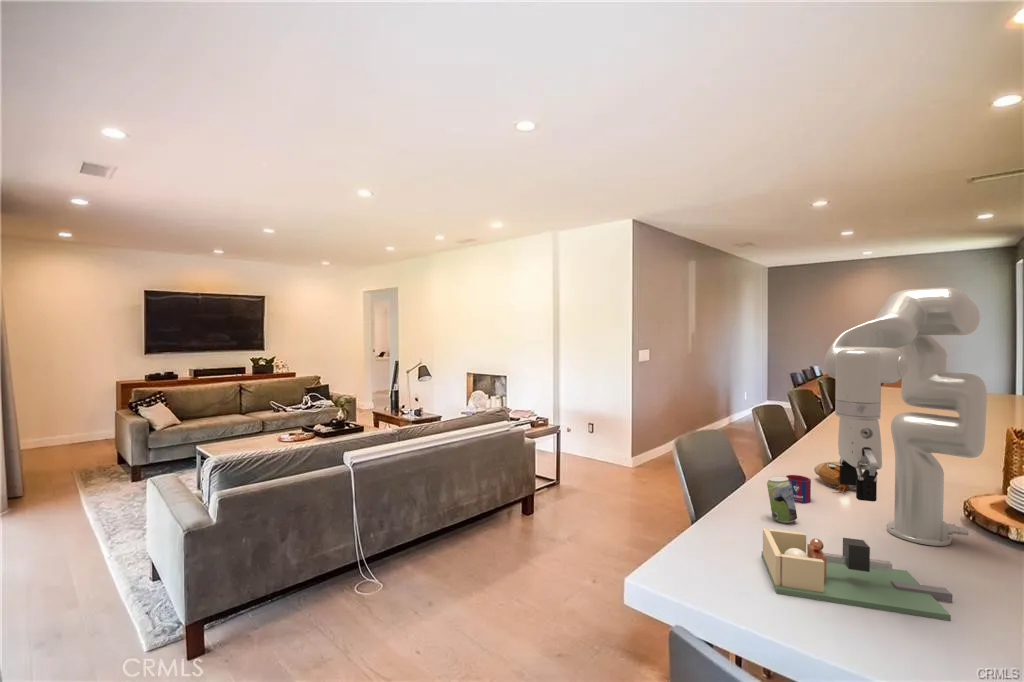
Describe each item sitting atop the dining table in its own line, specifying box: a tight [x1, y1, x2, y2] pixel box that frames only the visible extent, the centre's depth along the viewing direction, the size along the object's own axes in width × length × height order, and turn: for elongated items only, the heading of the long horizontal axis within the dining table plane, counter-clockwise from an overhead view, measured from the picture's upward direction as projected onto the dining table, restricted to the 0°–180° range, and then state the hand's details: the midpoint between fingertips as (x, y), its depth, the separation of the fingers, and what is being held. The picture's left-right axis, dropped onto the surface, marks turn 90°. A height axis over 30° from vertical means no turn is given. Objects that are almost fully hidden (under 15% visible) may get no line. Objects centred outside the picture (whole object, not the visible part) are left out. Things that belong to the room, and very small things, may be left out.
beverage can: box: [766, 475, 798, 524], centre depth 131 cm, size 6×7×12 cm
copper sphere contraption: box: [806, 537, 893, 581], centre depth 98 cm, size 14×6×8 cm, turn 71°
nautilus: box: [814, 461, 864, 494], centre depth 160 cm, size 8×22×15 cm
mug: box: [785, 474, 812, 504], centre depth 149 cm, size 7×10×7 cm
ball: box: [784, 548, 809, 558], centre depth 101 cm, size 5×5×5 cm
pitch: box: [761, 527, 953, 621], centre depth 98 cm, size 32×17×7 cm, turn 71°
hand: (857, 492), depth 97 cm, fingers open, 9 cm apart
